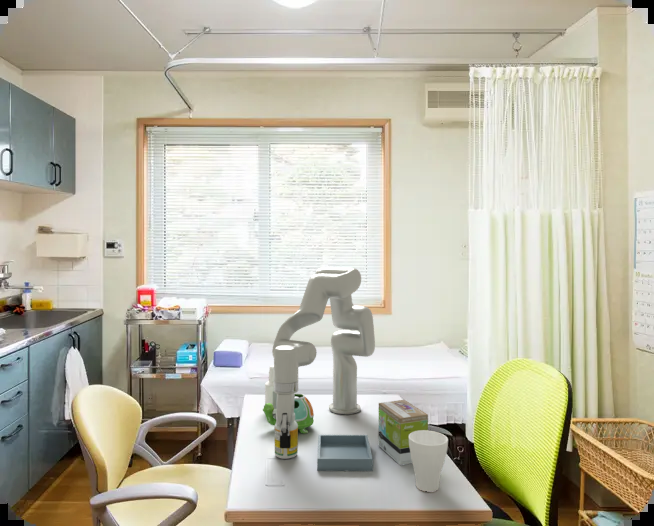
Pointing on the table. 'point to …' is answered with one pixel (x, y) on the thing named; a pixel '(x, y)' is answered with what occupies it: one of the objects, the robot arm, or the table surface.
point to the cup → (428, 458)
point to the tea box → (399, 428)
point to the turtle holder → (301, 411)
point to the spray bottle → (271, 390)
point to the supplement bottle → (293, 450)
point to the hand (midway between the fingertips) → (286, 442)
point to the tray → (344, 453)
